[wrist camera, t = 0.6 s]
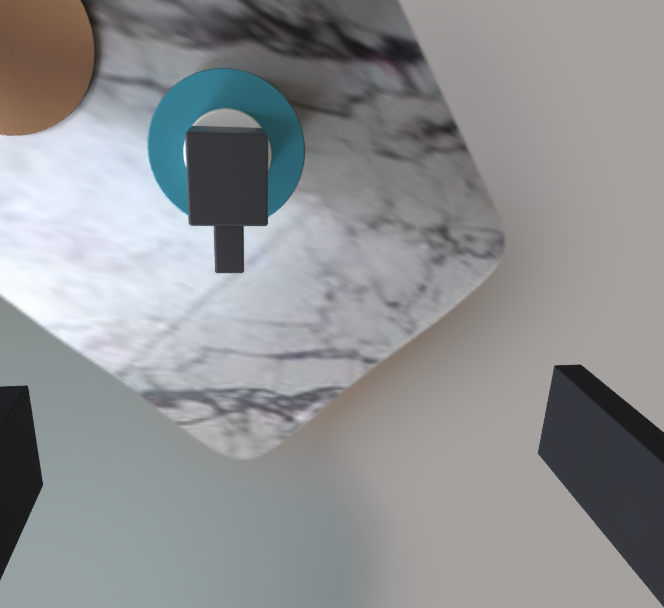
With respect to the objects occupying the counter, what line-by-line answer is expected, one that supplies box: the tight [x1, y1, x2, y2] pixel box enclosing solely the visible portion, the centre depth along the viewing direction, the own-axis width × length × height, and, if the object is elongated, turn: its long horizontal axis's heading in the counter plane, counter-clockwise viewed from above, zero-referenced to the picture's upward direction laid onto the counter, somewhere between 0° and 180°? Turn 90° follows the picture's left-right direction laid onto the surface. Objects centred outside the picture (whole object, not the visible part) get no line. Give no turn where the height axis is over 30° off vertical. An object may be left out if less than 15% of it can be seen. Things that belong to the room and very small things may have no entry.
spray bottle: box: [148, 68, 305, 273], centre depth 26 cm, size 7×6×14 cm
